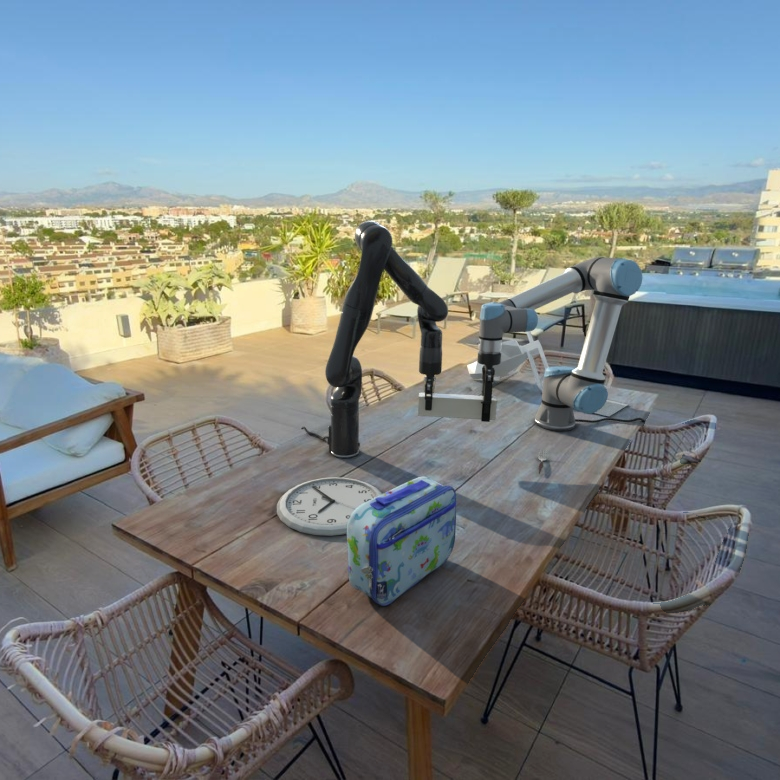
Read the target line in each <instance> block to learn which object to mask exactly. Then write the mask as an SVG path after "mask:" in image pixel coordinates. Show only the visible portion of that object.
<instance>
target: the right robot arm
mask: <svg viewBox="0 0 780 780" xmlns="http://www.w3.org/2000/svg"><path fill="white" fill-rule="evenodd" d="M642 284H643V272H642V269H641V268H640V265H639V264H638V262H636V261H634V260H632V259H628V258H623V257H622V258H621V257H606V256H595V257H593V258H589V259H587V260H584V261H582V262H579V263H577V264H575V265H573V266H570V267H567V268H566V269H565V270H564V273H562V274H559V275H557V276H555V277H553V278H551V279H548V280H546V281H544V282H542V283H539V284H537V285H535V286H533V287H531V288H529V289H526V290H524V291H522V292H519V293H517V294H516V295H513V296H511V297H508V298H506V299H504V300H501V301H491V302H488V303H483V304H482V305H481V306H480V313H479V328H478V329H479V331H478V340H477V341H476V344H477V345H478V348H477V350H478V352H477V358H476V359H477V360H476V361H477V362H478V363H479V364H482V365H484V366H483V367H482V379H481V380H482V385H481V396H483V401H481V403H482V417H481V419H480V421H481V422H484V423H490V422H491V420H490V409H491V403H492V396H493V384H494V378H495V377H494V375H495V370H494V368H493V366H494V365H498V364H500V362H501V353H500V352H501V351H502V342H503V337H504V336H503V335H504V334H507V333H526V332H528V331H530V332H533V331H534V330H536V328H537V327H538V324H539V323H538V322H539V315H538V313H537V311H536V310H538V309H539V308H542V307H544V306H546V305H548V304H551V303H552V302H555V301H557V300H559V299H562V298H564V297H566V296H568V295H570V294H579V293H582V292H585V291H593V293H592V296H593V298H594V300H595V303H594V307H593V310H592V312H591V313H592V314H591V317H590V321H589V324H588V328H587V331H586V334H585V335H586V336H585V338H584V341H583V346H582V350H581V352H580V353H581V354H580V356H579V360H578V364H577V367H573V366H564V365H563V366H561V365H559V366H558V365H557V366H549V368H547V369H546V370H545V369H544V375H543V381H542V382H543V383H542V387H543V392H542V391H541V393H542V394H541V402H540V405H539V407H538V410H537V411H536V413H535V416H534V424H535V425H536V426H537V427H539V428H542V429H544V430H549V431H556V432H567V431H572V430H574V429H575V428H576V422H577V423H588V424H589V423H591V424H594V423H595V424H597V423H600V422H604V421H613V422H621V423H633V422H636V421H641V422H643V423H646V420H645V419H644V418H642V417H636V418H632V419H620V418H613V417H603V418H599V419H595V420H592V419H581V418H580V419H579V418H575V417H576V416H575V413H574V410H575V411H577V412H578V413H579V412H580V413H582V414H586V415H590V414H596V413H595V412H597V411H598V410H600V409H601V408H602V407H603V406H604V404H605V403H606V401H607V400H608V399H609V391H608V389H607V388H606V386H605V381H606V377H605V375H604V373H603V372H604V369H605V365H606V362H607V359H608V355H609V352H610V348H611V345H612V342H613V338H614V334H615V332H616V327H617V324H618V321H619V318H620V314H621V310H622V307H623V305H626V304H627V303H628V302H629V300H630V297H631V296H633V295H635V294H636V292H638V291H639V290H640V288H641V286H642Z"/></svg>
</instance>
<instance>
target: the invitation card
mask: <svg viewBox="0 0 780 780" xmlns="http://www.w3.org/2000/svg"><path fill="white" fill-rule="evenodd" d="M628 406H629V404H627V403H623V402H618V401H614V400H609V399H607V401H606V403H605V404H604V406H603V407H602V408H601V409H600V410H598V411H597V412H595V413H594V414H596V415H600V416H604V417H607V418H610V417H611V416H613V415H614V414H616V413H617V412H619V411H621V410H623V409H624V408H626V407H628Z"/></svg>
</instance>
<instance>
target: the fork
mask: <svg viewBox="0 0 780 780" xmlns="http://www.w3.org/2000/svg"><path fill="white" fill-rule="evenodd" d="M547 458H548V451H546V450H544V449H542V451H541V449H540V450H539V454H538V460H539V461H540V463H539V464H538V474H541V472H542V469H543V467H544V465H543V464H544V463H543V462H544V461H546V460H547Z"/></svg>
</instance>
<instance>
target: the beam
mask: <svg viewBox="0 0 780 780" xmlns="http://www.w3.org/2000/svg"><path fill="white" fill-rule="evenodd" d="M427 396H431V395H430V394H427ZM424 397H425V392H419V393H418V401H417V402H418V405H417V416H418V417H429V418H430V417H433V418H447V419H448V418H449V419H450V418H451V419H467V420H481V417H482V403H481V401H483V396H482V395H476V394H475V395H473V394H455V393H436V392H434V393H433V396H432V398H433V399H432V410H431V411H429V410H425V399H424ZM497 406H498V398H497V396H493V395H492V403H491V409H490V421H496V420H497V419H496V417H497V409H498V407H497Z"/></svg>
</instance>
